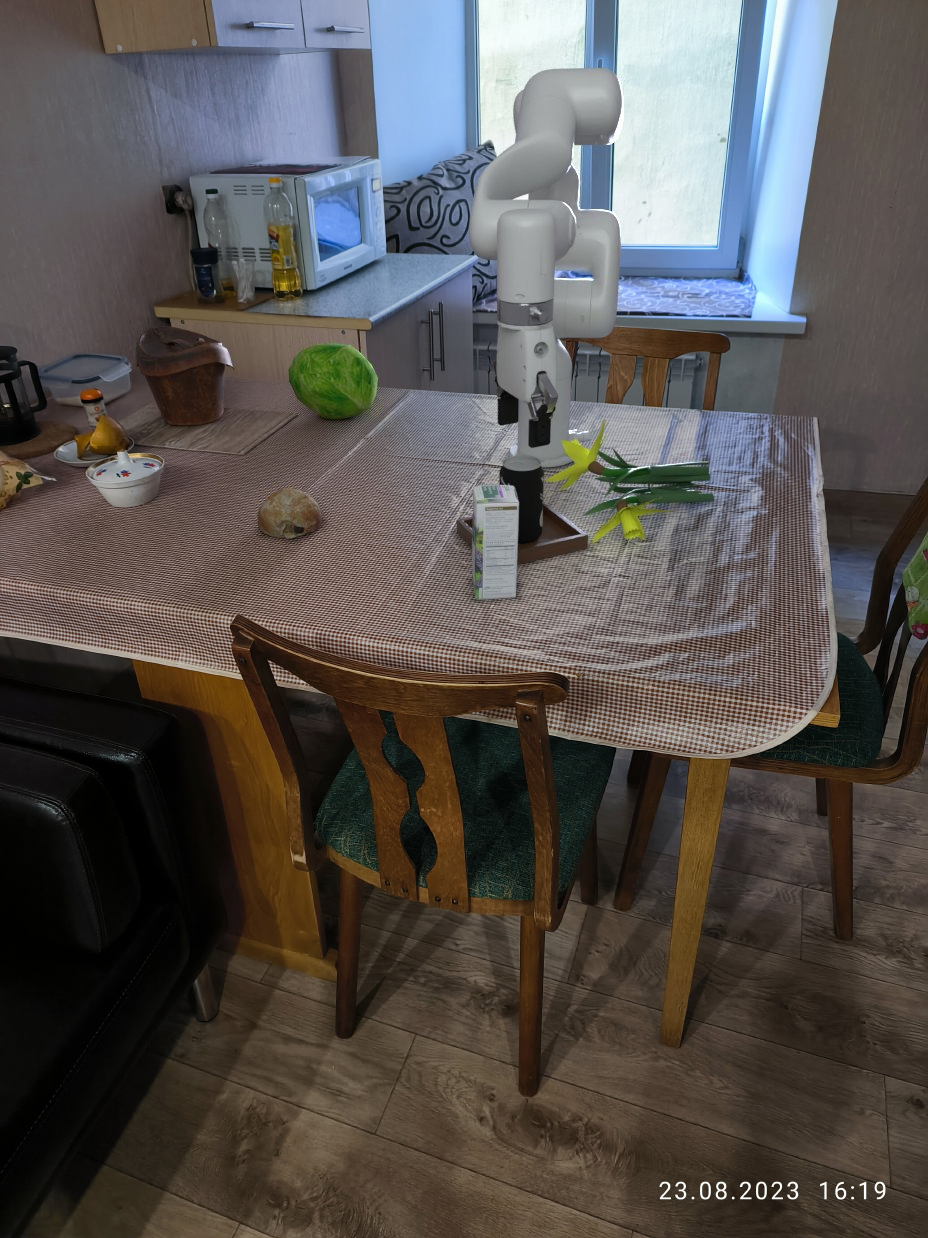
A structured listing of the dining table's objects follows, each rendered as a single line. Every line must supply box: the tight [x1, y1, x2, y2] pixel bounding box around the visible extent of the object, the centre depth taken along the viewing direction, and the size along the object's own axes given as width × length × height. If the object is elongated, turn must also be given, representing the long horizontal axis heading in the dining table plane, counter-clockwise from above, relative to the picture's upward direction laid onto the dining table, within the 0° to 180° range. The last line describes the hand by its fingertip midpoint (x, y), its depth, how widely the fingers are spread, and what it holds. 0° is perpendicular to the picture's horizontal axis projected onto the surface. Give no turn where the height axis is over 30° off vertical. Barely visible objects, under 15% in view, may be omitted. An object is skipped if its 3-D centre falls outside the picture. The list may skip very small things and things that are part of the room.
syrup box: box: [471, 484, 519, 601], centre depth 116 cm, size 6×6×14 cm
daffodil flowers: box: [544, 419, 715, 544], centre depth 132 cm, size 17×15×35 cm
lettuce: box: [288, 342, 379, 420], centre depth 181 cm, size 17×20×17 cm
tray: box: [456, 501, 589, 566], centre depth 132 cm, size 16×14×2 cm
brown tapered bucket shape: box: [134, 325, 236, 427], centre depth 181 cm, size 18×20×18 cm
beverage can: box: [498, 455, 545, 544], centre depth 129 cm, size 7×7×12 cm
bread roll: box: [256, 488, 323, 540], centre depth 137 cm, size 10×10×8 cm
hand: (523, 434), depth 124 cm, fingers open, 9 cm apart
